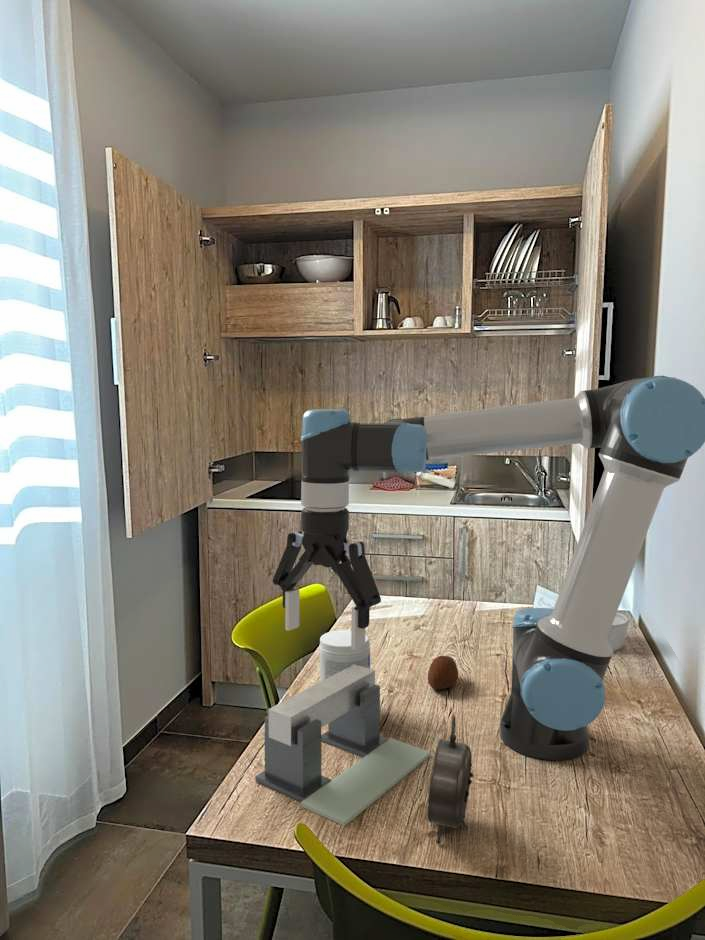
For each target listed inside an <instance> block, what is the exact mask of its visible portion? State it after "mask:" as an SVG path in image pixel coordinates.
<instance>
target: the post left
mask: <svg viewBox="0 0 705 940" xmlns="http://www.w3.org/2000/svg"><path fill="white" fill-rule="evenodd" d="M321 735H322V728H321V721H320V720H318V719H315V720H314V721H312V722H310V723H308V724H307V725H305V726H303V727H302V728H300V729H298V730H297V743H295V744H294V745H292V746H289V745H287V744H284V743H282V742H279V741H277V740H274V739H272V738H269V714H268V715H266V716H264V771H261V772H260V773H258V774H257V775H255V777H254V779H255V780H254V781H255V782H256V783H259V784H261V785H263V786H265V787H267V788H270V789H271V790H274V791H275V792H278V793H281V794H282V795H285V796H287V797H289V798H290V799H294V800H296V801H298V802H300V803H301V802H302V801H303V800H305V799H306V798H308V797H309V796H310V795H312V794H313V793H315V792H316V791H317V790H319V789H320V788H321V787H323V786H324V785H326V784H327V783H328V782H330V781H331V780H332V779H331V778H328V777H326V776H324V775H322V741H321Z"/></svg>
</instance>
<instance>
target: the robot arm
mask: <svg viewBox="0 0 705 940" xmlns="http://www.w3.org/2000/svg"><path fill="white" fill-rule="evenodd" d="M301 426H302V429H301V437H300V443H301V447H300V448H301V489H300V490H301V493H300V504H301V506H303V508H302V509H301V513H300V514H301V515H300V516H301V517H300V520H301V521H300V522H301V523H300V524H301V525H300V529H301V531H300V530H298V531H293V532H290V533H288V534H287V537H286V538H287V539H286V546H285V549H284V551H283V554H282V556H281V559H280V560H279V563H278V566H277V568H276V571H275V573H274V576H273V577H272V583H273V585H275V586H279V587H280V589H281V590H282V608H283V609H284V610H285V611H284V612H285V613H284V615H285V617H284V618H285V619H284V621H285V622H284V625H285V626H284V627H285V628H284V629H285V631H288V632H290V631H292V630H295V629H298V628H299V627H300V588H297V587H299V586H298V583H299V582H300V581H301V580H302V578H303V577H304V576H305V575H306V574H307V572H308V571H309V569H310V568H311V566H313V565H314V566H322V567H324V568H328V569H329V568H331V570H332V572H334V573H336V574H337V577H338V578H339V579H340V581H341V583H342V584H343V586H344V588H345V590H346V592H347V593H348V595H349V597H350V598H351V600H352V601H353V603H354V605H355V606H352V607H351V622H350V625H351V626H350V627H351V628H350V630H351V649H354V650H356V649H358V648H360V647H362V646H364V645H365V634H366V628H368V627H369V625H370V609H371V608H372V607H373V606H377V605H378V604H380V603H381V602H382V597H381V595H380V592H379V590H378V587H377V584H376V581H375V579H374V576H373V573H372V571H371V569H370V568H371V567H370V565H369V563H368V560H367V557H366V550H365V543H364V542H363V541H358V542H349V541H348V539H347V535H348V532H349V526H350V525H349V524H350V517H349V516H350V515H349V514H350V511H349V510H348V508H347V506H348V505H349V503H350V472H351V471H353V472H362V471H363V472H379V473H381V472H383V473H398V474H399V473H400V474H402V475H405V474H407V473H409V474H410V473H421V472H423V471H424V470H425V469H426V465H427V461H428V460H437V459H446V458H447V459H448V458H456V457H457V458H458V457H465V456H476V455H484V454H494V453H495V454H496V453H502V452H513V451H522V450H524V451H525V450H531V449H542V448H549V447H559V446H568V445H578V444H580V445H581V446H582V447H584V448H585V449H596V448H600V450H599V453H598V456H599V458H600V461H601V463H602V465H603V468H604V470H603V472H602V476H601V478H600V481H599V484H598V487H597V489H596V492H595V495H594V497H593V500H592V504H591V505H590V509H589V511H588V513H587V517H586V519H585V522H584V525H583V528H582V530H581V532H580V533H581V534H580V536H579V539H578V541H577V544H576V547H575V549H574V553H573V555H572V558H571V561H570V564H569V566H568V569H567V571H566V575H565V578H564V579H563V582H562V585H561V588H560V590H559V593H558V596H557V600H556V602H555V605H554V607H553V608H551V607H549V608H548V607H529V608H523V609H520V610H518V611H516V612H515V613H514V617H513V624H512V625H511V626H512V627H511V628H512V630H513V633H512V656H511V658H512V659H511V660H512V661H511V663H512V664H511V690H510V691H511V692H510V694H509V698H508V699H507V702H506V704H505V707H504V710H503V713H502V714H501V718H500V722H499V736H500V739H501V740H502V742H503V743H504V744H505V745H506V746H508V747H509V748H510V749H512V750H514V751H516V752H517V753H519V754H521V755H523V756H528V757H530V758H531V757H532V758H535V759H540V760H548V761H564V760H569V759H571V760H572V759H576V758H578V757H580V756H583V755H584V754H585V753H586V752H587V751H588V749H589V745H590V731H589V726H588V725H590V724H592V723H593V722H594V721H595V720H596V719H597V718H598V717H599V716H600V714H601V713H602V710H603V708H604V706H605V700H606V687H605V685H604V678H605V675H606V672H607V670H608V667H609V665H610V662H611V659H612V657H613V654H614V651H613V649H612V647H611V645H610V643H609V641H608V634H609V631H610V629H611V626H612V623H613V621H614V618H615V616H616V613H618V610H619V607H620V605H621V603H622V599H623V597H624V595H625V592H626V589H627V587H628V584H629V581H630V579H631V576H632V573H633V571H634V568H635V566H636V563H637V560H638V558H639V555H640V552H641V550H642V547H643V544H644V541H645V539H646V536H647V534H648V532H649V529H650V526H651V523H652V522H653V518H654V515H655V512H656V510H657V508H658V505H659V502H660V500H661V498H662V494H663V492H664V489H665V488H667V487H668V486H670V485H672V484H675V483H677V482H679V481H680V479H681V477H682V474H683V472H684V469H685V467H686V464H687V461H688V459H689V458H690V457H692V456H693V455H694V454H696V453H697V452H698V451H700V450H701V448H702V446H703V445H704V444H705V397H704V394H703V393H702V392H701V391H700V390H698V388H696V387H695V386H694V385H692V384H691V383H689V382H687V381H685V380H683V379H680V378H676V377H674V376H673V377H671V376H667V375H666V376H665V375H655V376H649V377H639V378H632V379H629V380H626V381H622V382H619V383H616V384H612V385H607V386H603V387H599V388H593V389H587V390H586V389H585V390H580V391H579V393H578V394H577V395H576V396H575V397H572V398H563V399H556V400H555V399H554V400H547V401H539V402H531V403H522V404H521V403H520V404H514V405H506V406H498V407H497V406H496V407H490V408H482V409H474V410H464V411H458V412H457V411H456V412H449V413H440V414H432V415H425V416H418V417H417V416H416V417H409V418H399V417H398V418H392V419H388V420H387V421H385V422H383V423H381V422H379V423H378V422H377V423H373V422H372V423H370V422H369V423H360V422H356V421H355V422H352V419H351V415H350V411H348V410H346V409H345V410H344V409H331V408H330V409H329V408H328V409H327V408H326V409H324V408H323V409H317V408H316V409H308V410H307V411H305V412H304V414H303V415H302V425H301ZM302 547H303V548H304V552H303V553H302V555H301V556H300V557H299V559H298V562H297V563H296V561H297V558H298V556H299V554H300V551H301V549H302ZM340 562H341V563H340ZM295 564H296V565H295Z"/></svg>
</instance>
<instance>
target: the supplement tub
mask: <svg viewBox="0 0 705 940" xmlns="http://www.w3.org/2000/svg"><path fill="white" fill-rule="evenodd" d="M318 648H319V653H318V655H319V657H318V658H319V682H321V681H323V680H325V679H327V678H329V677H331V676H333V675H335V674H336V673H338V672H340V671H342V670H344V669H346V668H348V667H350V666H352V665H354V664H355V665H358V666H362V667H365V668H369V669H371V644H370V637H369V635H367V634H366V633H365V645H364V646H362V647H360V648H358V649H356V650H354V649H351V629H340V630H339V629H338V630H333V631H328V632H326V633H323V634H322V635H321V636H320V638H319V647H318Z"/></svg>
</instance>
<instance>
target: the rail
mask: <svg viewBox="0 0 705 940" xmlns="http://www.w3.org/2000/svg"><path fill="white" fill-rule="evenodd" d="M373 685H376V670H375V669H372V668H370V669H369V668H365V667H362V666H358V665H355V664H354V665H352V666H350V667H348V668H346V669H344V670H342V671H340V672H338V673H336V674H335V675H333V676H331V677H329V678H327V679H325V680H323V681H321V682H320V681H319V682H318V683H316V684H314V685H312V686H310V687H308V688H306V689H305V690H302V691H300V692H299V693H297V694H295V695H293V696H291V697H289V698H286V699H285V700H284V701H281V702H280V703H278V704H275V705H274V706H272V707H269V708H268V715H269V738H272V739H274V740H277V741H279V742H282V743H284V744H287V745H289V746H292V745H294V744H295V743H297V730H298V729H300V728H302V727H303V726H305V725H307V724H308V723H310V722H312V721H314V720H315V719H318V720H320V721H321V729H322V728H324V727H325V726H326V725H327V726H328V723H330V722H332V721H333V720H335V719H336V718H338V717H340V716H341V715H343V714H345V713H346V712H348V711H350V710H351V709H353V708H355V707H356V706H358V705H359V704H360V693H361V692H363V691H365V690H366V689H368V688H370V687H372V686H373Z"/></svg>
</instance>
